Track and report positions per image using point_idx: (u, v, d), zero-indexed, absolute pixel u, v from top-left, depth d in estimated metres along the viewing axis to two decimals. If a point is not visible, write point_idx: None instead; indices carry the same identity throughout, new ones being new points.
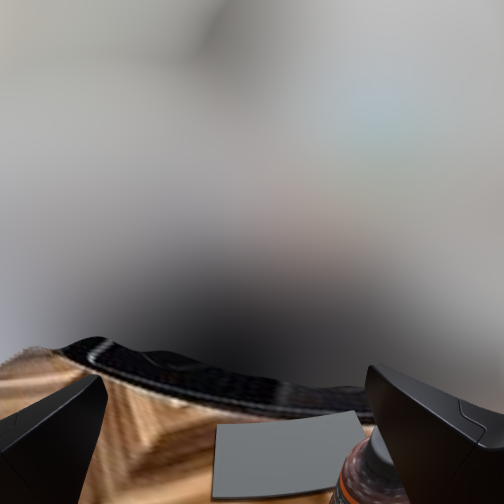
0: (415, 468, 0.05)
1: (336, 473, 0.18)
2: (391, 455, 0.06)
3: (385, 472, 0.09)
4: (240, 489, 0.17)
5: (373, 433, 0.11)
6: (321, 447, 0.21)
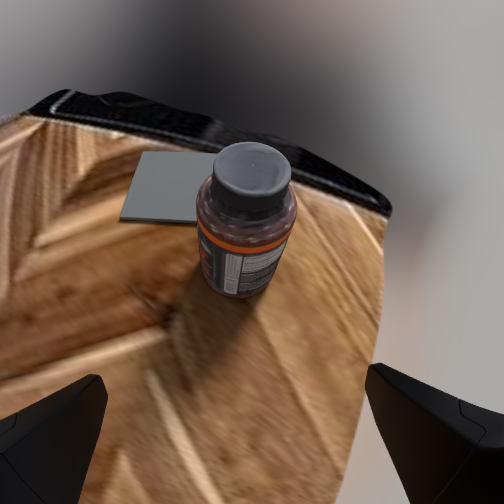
0: (415, 468, 0.05)
1: None
2: (391, 455, 0.06)
3: (219, 190, 0.14)
4: (144, 211, 0.25)
5: (221, 151, 0.15)
6: None
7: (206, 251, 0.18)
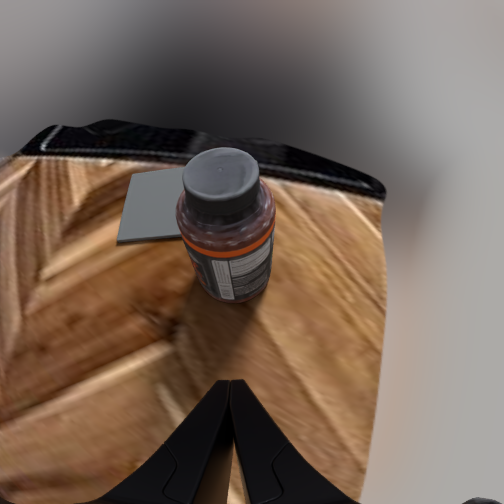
0: (247, 502, 0.05)
1: None
2: (241, 480, 0.06)
3: (190, 200, 0.14)
4: (138, 231, 0.26)
5: (189, 161, 0.15)
6: None
7: (194, 261, 0.18)
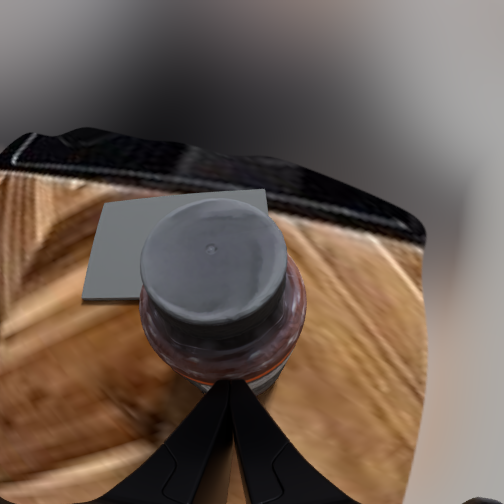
0: (247, 502, 0.05)
1: None
2: None
3: (156, 308, 0.07)
4: (108, 288, 0.19)
5: (154, 227, 0.08)
6: None
7: None
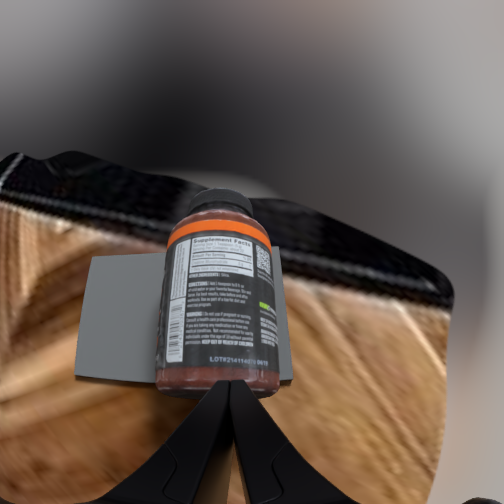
0: (247, 502, 0.05)
1: None
2: (241, 480, 0.06)
3: (188, 212, 0.17)
4: (102, 366, 0.16)
5: None
6: None
7: None
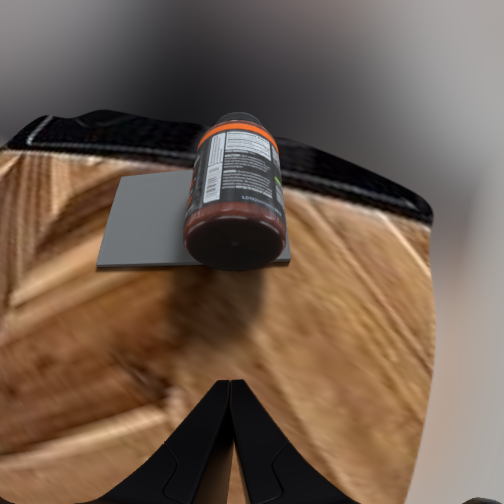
0: (247, 502, 0.05)
1: None
2: (241, 480, 0.06)
3: None
4: (123, 254, 0.20)
5: None
6: None
7: (196, 163, 0.18)
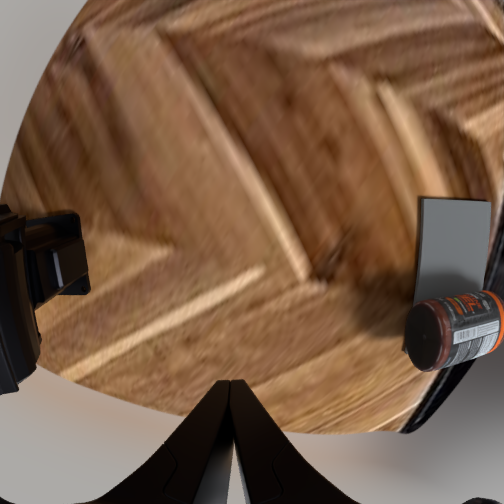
0: (247, 502, 0.05)
1: None
2: (241, 480, 0.06)
3: None
4: (430, 226, 0.21)
5: None
6: None
7: (484, 306, 0.18)
